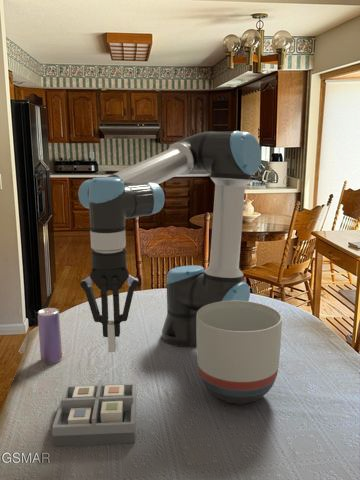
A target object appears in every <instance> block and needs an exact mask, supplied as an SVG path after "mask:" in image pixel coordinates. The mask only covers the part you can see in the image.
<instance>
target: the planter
mask: <svg viewBox="0 0 360 480" xmlns="http://www.w3.org/2000/svg"><path fill="white" fill-rule="evenodd" d="M282 323H283V317H282V314H281V313H280V312H279V310H278V309H276V308H273V307H271V306H269V305H266V304H263V303H259V302H255V301H250V300H249V301H221V302H215V303H211V304H208V305H205V306H203V307H202V308H200V309H199V310H198V312H197V315H196V339H197V346H196V359H197V360H196V362H197V370H198V373H199V377H200V380H201V382H202V385H204V387H205V388H206V389H207V391H208V392H209V393H211V394H212V395H213V396H214V397H216V398H217V399H219V400H221V401H224V402H226V403H230V404H235V405H236V404H237V405H242V404H249V403H252V402H256V401H257V400H259V399H261V398H262V397H264V396H265V395H266V394H267V393H268V392H270V390H271V389H272V388H273V386H274V383H275V382H276V378H277V375H278V372H279V366H280V356H281V355H280V354H281V344H282V343H281V341H282V330H283V329H282V325H283V324H282Z"/></svg>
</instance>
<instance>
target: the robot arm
mask: <svg viewBox="0 0 360 480" xmlns="http://www.w3.org/2000/svg"><path fill="white" fill-rule="evenodd" d="M261 164H262V150H261V146H260V143H259V141H258V139H257V137H256V136H255V135H254V134H252V133H251V132H248V131H240V130H234V131H233V130H231V131H204V132H203V131H202V132H200V133H199V132H198V133H196V134H194V135H193V134H192V135H191V136H188V137H185V138H183V139H181V140H178V141H176V142H174V143H172V144H170V145H169V147H168V149H167V150H165V151H162V152H160V153H158V154H156V155H153V156H151V157H148V158H147V159H145V160H141V161H140V162H138V163H135V164H133V165H131V166H129V167H127V168H124V169H121V170H120V171H117V172H115V173H113V174H110V175H107V176H104V177H103V176H101V177H93V178H92V179H87V180H84V181H83V182H81V184H80V186H79V188H78V193H77V195H78V196H77V197H78V201H79V202H80V204H81V206H82V207H83V208H86V209H88V212H89V213H88V215H89V227H90V230H89V232H90V234H89V235H90V249H92V250H91V252H90V253H91V254H90V256H91V271H90V273H89V276H88V277H86V278H82V279H81V282H80V283H79V284H80V285H79V286H80V287H81V288H82V289H83V291H84V292H85V296H86V299H87V302H88V305H89V309H90V311H91V312H90V313H91V315H92V318H93V321H94V322H95V323H101V326H102V335H103V338H107V347H108V348H107V349H108V353H116V347H117V346H116V345H117V343H116V342H117V341H116V339H117V338H116V337H118V338H120V335H121V323H122V322H126V321H127V320H128V318H129V313H130V310H131V309H130V308H131V305H132V304H131V303H132V299H133V296H134V292H135V290H136V288H137V287H138V285H139V278H138V277H134V276H132V275H131V274H130V272H129V270H128V268H127V250H126V245H127V241H126V240H127V239H126V237H127V236H126V235H127V234H126V220H129V219H133V218H138V217H139V218H140V217H145V216H152V215H154V214H157V213H160V212H161V210H162V209H163V207H165V206H164V204H165V201H166V200H165V192H164V190H163V188H162V187H161V186H160V185H159V184H162V183H164V182H166V181H168V180H170V179H172V178H174V177H176V176H178V175H181V176H182V175H183V176H184V175H187V174H191V173H192V172H208V173H210V179H211V181H212V182H213V183H214V185H215V186H214V195H213V197H214V199H213V200H214V201H213V214H212V226H211V227H212V228H211V241H210V255H209V257H210V258H209V266H207V268H204V267H203V266H202V265H192V264H191V265H183V266H178V267H174V268H172V269H170V270H169V271H168V272H167V274H166V310H167V313H166V317H165V321H164V323H163V327H162V330H161V338H162V340H163V341H164V343H166V344H169V345H171V346H175V347H197V339H196V315H197V312H198V310H199V309H200V308H202V307H203V306H205V305H208V304H211V303H215V302H221V301H249V302H250V296H251V289H250V286H249V284H248V283H246V282H245V281H244V272H243V271H242V270H241V268H240V256H241V255H240V254H241V242H242V233H243V219H244V218H243V217H244V206H245V195H246V194H245V193H246V186H247V185H248V184H249V183H250V182H251V181H252V175H255V174H256V173H257V172H258V171H259V170H260V169H259V168H260V167H261ZM126 282H127V286H128V289H127V293H126V298H125V301H124V306H123V310H122V311H123V312H122V313H121V312H120V289H121V288H122V286H123V285H124V284H125V283H126ZM93 283H94V284H95V286H96V287H97V288H98V290H100V300H101V301H100V303H101V313H100V310H99V306H98V303H97V300H96V297H95V293H94V290H93V287H92V286H93ZM109 291H111V292H112V302H113V303H112V305H113V308H112V309H113V319H112V320H109V302H108V301H109V298H108V297H109V296H108V294H109V293H108V292H109Z"/></svg>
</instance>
